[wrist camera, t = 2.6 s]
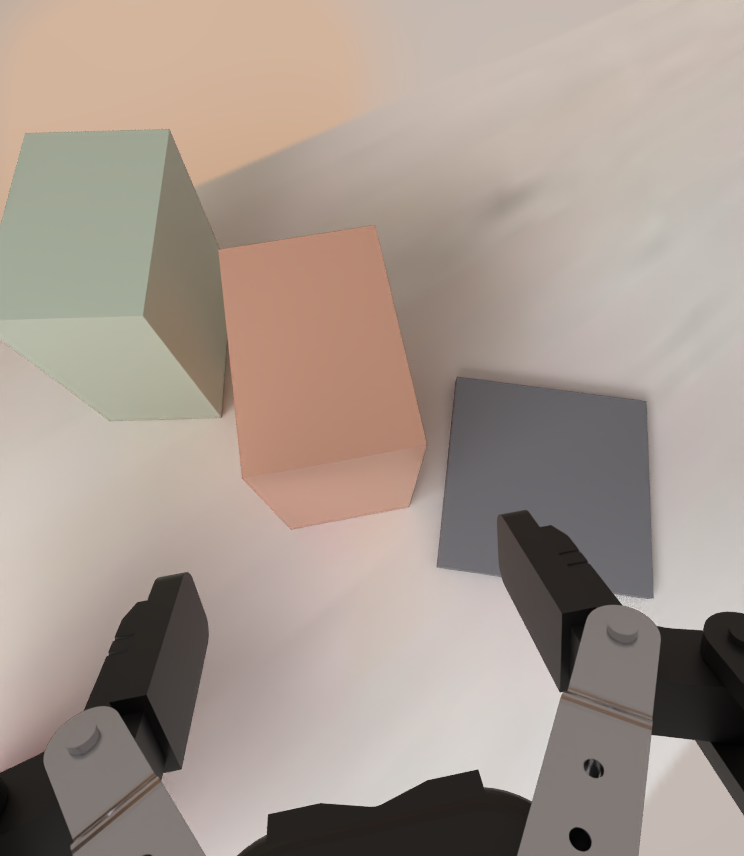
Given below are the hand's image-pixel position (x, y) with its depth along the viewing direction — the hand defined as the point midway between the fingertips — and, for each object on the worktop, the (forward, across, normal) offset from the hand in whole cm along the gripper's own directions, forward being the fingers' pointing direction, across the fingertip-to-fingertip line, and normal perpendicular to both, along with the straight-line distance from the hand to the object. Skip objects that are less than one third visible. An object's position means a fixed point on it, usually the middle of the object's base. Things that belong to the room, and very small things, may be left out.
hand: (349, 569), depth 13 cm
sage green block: (+19, +8, -2) cm, 21 cm away
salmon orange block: (+14, 0, +3) cm, 14 cm away
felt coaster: (+11, -10, +6) cm, 16 cm away
